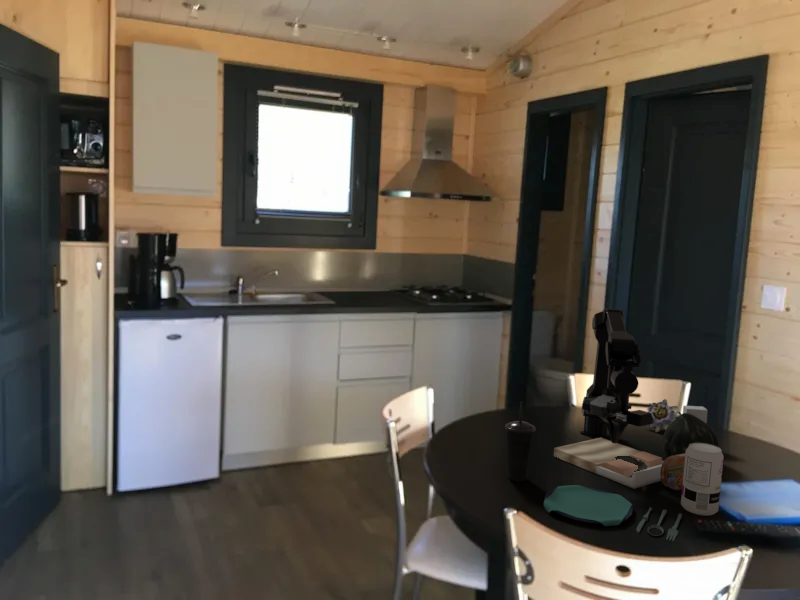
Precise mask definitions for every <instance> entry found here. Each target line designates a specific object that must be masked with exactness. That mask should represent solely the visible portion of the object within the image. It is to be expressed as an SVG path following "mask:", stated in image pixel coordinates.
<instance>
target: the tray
mask: <svg viewBox="0 0 800 600" xmlns="http://www.w3.org/2000/svg"><path fill="white" fill-rule="evenodd" d="M664 461H665V460H662V464H663V462H664ZM662 464H661V465H658V466H654V467H650V468H647V469H643V470H640V471H636V472H633V475H632V477H626V476H624V475H621V474H619V473H616V472H613V471H611V470H608V469H606V468H603V467H601V466H597V467H596V473H595V474H596V475H598V476H601V477H604V478H606V479H609V480H611V481H614V482H616V483H619V484H622V485H624V486H626V487H628V488H632V489H633V490H634V489H638V488H640V487H641V488H642V487H644V486H647V485H651V484H655V483H658V482H662V481H661V475H660V473H661V466H662Z"/></svg>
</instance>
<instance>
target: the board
mask: <svg viewBox="0 0 800 600" xmlns="http://www.w3.org/2000/svg"><path fill="white" fill-rule="evenodd" d="M639 452H642V451H641V450H638V449H635V448H633V447H630V446H627V445H624V444H621V443H618V442H617V443H612V442H611V439H610V440H609V439H607V438H604V437H601V438H592V439H588V440H584V441H579V442H574V443H569V444H566V445H560V446H556V447H554V449H553V457H554V458H556V457H557V458H556V459H558V458H559V459H558V460H561V461H564V462H566V463H569V464H572V465H573V466H576V467H578V468H581V469H584V470H586V471H589V472H591V473H594V474H596V467H597V466H601V467H603V468H605V462H609V461H613V460H616V458H615V457H617V456H630V455H631V454H635V453H639Z"/></svg>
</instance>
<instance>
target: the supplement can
mask: <svg viewBox="0 0 800 600" xmlns="http://www.w3.org/2000/svg"><path fill="white" fill-rule="evenodd" d="M724 458H725V457H724V454H723V451H722V449H721V448H720V447H717V446H714V445H710V444H705V443H691V444H689V447H688V448H687V449H686V452H685V463H684V474H683V485H682V489H681V496H680V497H681V499H680V505H681V506H682V508H683V509H684V511H685V510H686V511H687V512H689V513H691V514H694V515H697V516H698V515H699V516H713V515H714V516H715V514H716V513H718V512H719V508H720V500H721V499H720V496H721V487H722V477H723V469H724V468H723V467H724Z"/></svg>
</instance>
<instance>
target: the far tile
mask: <svg viewBox="0 0 800 600" xmlns="http://www.w3.org/2000/svg"><path fill="white" fill-rule="evenodd" d="M630 457H632V458H635V459H639V460H641V461H642V462H644V463H645V464H646V465H647V466H648V468H650V467H654V466H658V465H661V464H662V461H663V457H661V456H658V455H655V454H652V453H650V452H647V451H641V452H639V453H635V454H631V455H630Z"/></svg>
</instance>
